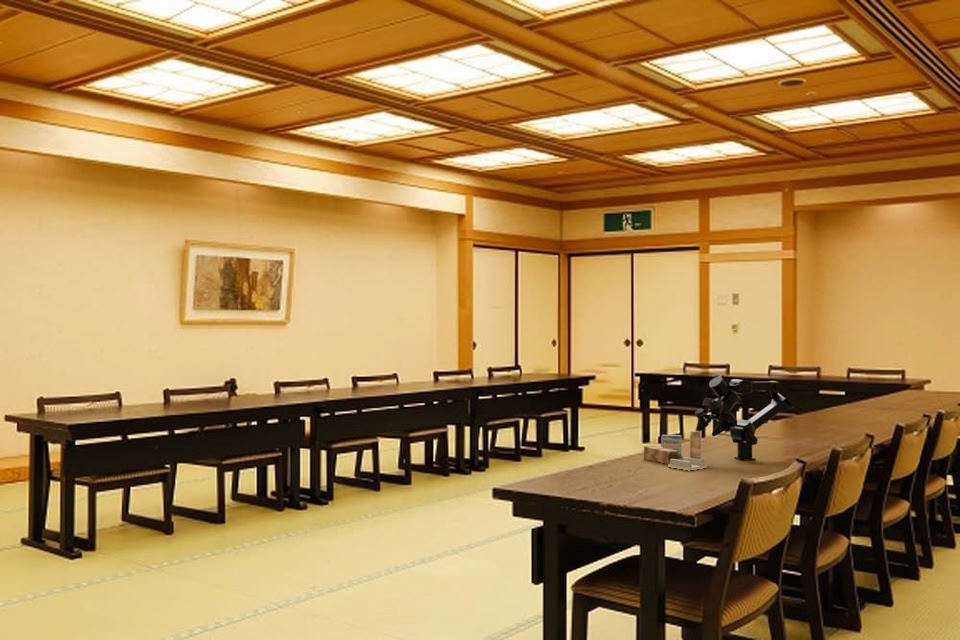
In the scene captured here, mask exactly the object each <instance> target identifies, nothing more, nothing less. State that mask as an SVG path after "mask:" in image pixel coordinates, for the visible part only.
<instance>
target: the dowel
mask: <svg viewBox="0 0 960 640" xmlns="http://www.w3.org/2000/svg"><path fill="white" fill-rule="evenodd" d="M701 432H702V431H696V430H690V431H689V458H695V459H702V451H701V450H702V439H701V437H702V433H701Z"/></svg>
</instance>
